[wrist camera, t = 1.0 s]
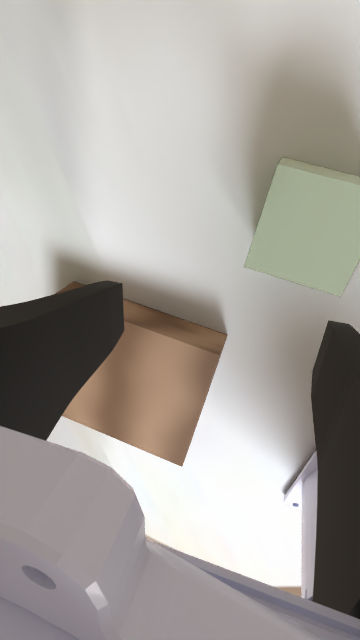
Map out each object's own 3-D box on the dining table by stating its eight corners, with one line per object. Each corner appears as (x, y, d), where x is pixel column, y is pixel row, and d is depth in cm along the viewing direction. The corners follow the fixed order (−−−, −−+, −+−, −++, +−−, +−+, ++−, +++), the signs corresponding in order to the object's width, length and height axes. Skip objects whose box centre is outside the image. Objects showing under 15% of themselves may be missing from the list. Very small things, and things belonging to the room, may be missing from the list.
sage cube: (373, 179, 16) (394, 194, 12) (332, 263, 19) (340, 296, 15) (283, 156, 17) (277, 164, 13) (255, 240, 19) (243, 266, 16)
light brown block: (227, 335, 23) (219, 355, 21) (190, 442, 29) (182, 466, 27) (73, 281, 25) (52, 295, 23) (71, 393, 31) (54, 412, 29)
